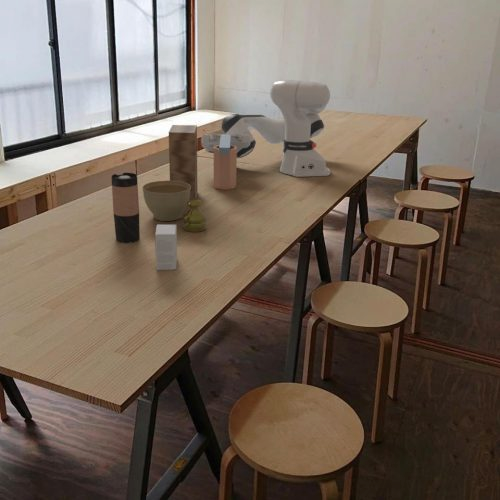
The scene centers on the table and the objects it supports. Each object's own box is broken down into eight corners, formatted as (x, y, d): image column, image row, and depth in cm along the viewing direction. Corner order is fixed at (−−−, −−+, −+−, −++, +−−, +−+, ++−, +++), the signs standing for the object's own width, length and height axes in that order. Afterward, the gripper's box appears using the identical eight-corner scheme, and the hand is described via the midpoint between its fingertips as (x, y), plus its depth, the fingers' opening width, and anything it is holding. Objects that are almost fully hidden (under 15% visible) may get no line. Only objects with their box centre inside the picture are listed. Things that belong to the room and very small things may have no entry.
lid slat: (220, 140, 242) (220, 134, 241) (230, 141, 242) (230, 134, 241) (219, 154, 220) (219, 147, 219) (229, 154, 220) (229, 147, 219)
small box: (157, 258, 168) (156, 224, 164) (177, 258, 168) (176, 223, 164) (155, 270, 161) (154, 234, 157) (176, 270, 161) (175, 234, 157)
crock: (236, 183, 241) (236, 145, 235) (236, 190, 233) (236, 150, 227) (214, 183, 241) (214, 144, 235) (213, 189, 233) (213, 149, 227)
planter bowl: (198, 213, 206) (198, 183, 202) (178, 227, 192) (178, 195, 188) (157, 207, 211) (156, 177, 207) (135, 221, 197) (133, 189, 192)
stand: (197, 192, 228) (196, 125, 219) (195, 203, 215) (194, 132, 206) (174, 192, 228) (172, 124, 218) (170, 203, 215) (168, 132, 205)
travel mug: (134, 244, 177) (131, 180, 170) (111, 242, 179) (106, 178, 171) (144, 235, 184) (141, 173, 177) (121, 233, 186) (117, 171, 178)
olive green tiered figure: (197, 234, 187) (197, 204, 183) (178, 229, 190) (178, 199, 187) (210, 227, 193) (210, 198, 189) (192, 223, 196) (192, 194, 192)
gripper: (250, 152, 252) (251, 142, 238) (202, 152, 251) (200, 141, 238) (250, 138, 253) (251, 127, 239) (202, 137, 252) (200, 126, 238)
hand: (225, 134), depth 238 cm, fingers open, 8 cm apart
